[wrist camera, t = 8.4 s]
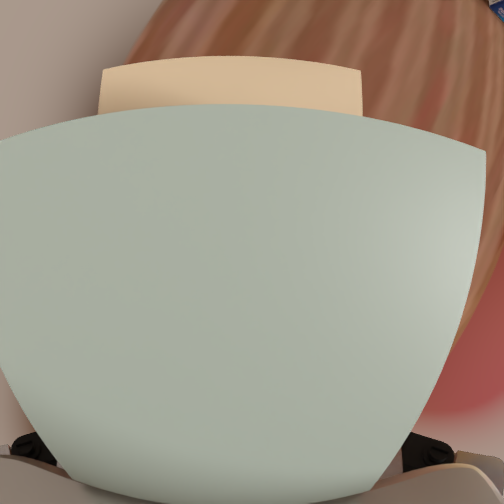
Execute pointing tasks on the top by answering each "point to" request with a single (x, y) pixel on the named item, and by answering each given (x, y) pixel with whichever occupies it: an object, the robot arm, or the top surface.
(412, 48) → the top surface
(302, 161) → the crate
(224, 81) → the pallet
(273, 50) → the top surface
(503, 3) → the beverage box
